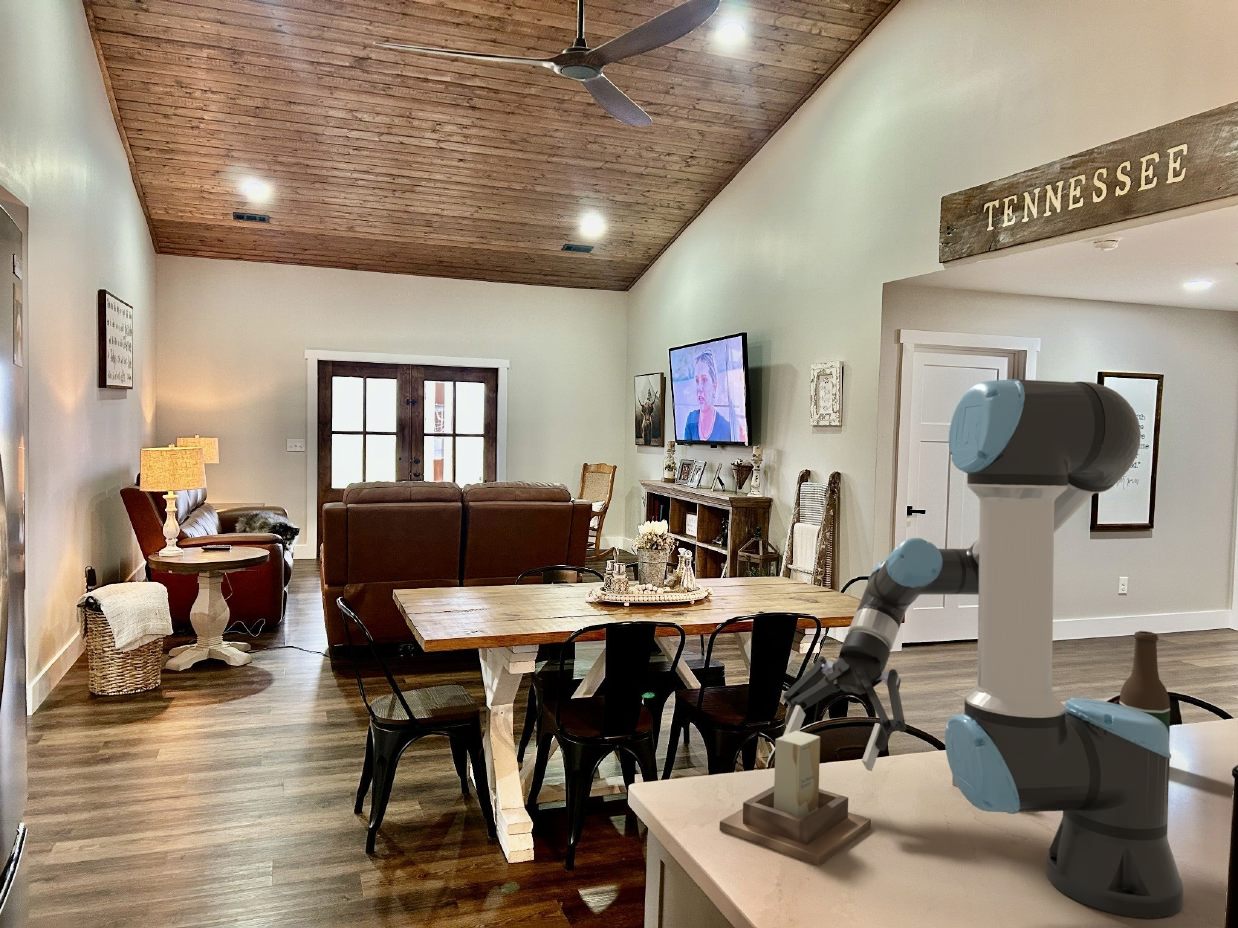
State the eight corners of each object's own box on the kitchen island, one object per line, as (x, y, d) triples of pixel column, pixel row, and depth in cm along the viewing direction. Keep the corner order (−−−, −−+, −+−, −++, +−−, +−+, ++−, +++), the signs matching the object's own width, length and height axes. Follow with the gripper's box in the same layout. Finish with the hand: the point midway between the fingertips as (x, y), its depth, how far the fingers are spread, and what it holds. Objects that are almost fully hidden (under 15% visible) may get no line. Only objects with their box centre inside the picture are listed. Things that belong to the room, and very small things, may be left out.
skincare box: (798, 831, 122) (800, 745, 122) (772, 822, 125) (773, 738, 125) (820, 817, 127) (821, 735, 127) (794, 808, 130) (795, 728, 130)
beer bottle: (1168, 762, 156) (1171, 631, 155) (1169, 776, 149) (1172, 638, 149) (1118, 754, 160) (1121, 626, 160) (1117, 766, 153) (1120, 633, 153)
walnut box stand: (870, 827, 127) (871, 798, 126) (818, 865, 114) (819, 833, 114) (776, 797, 137) (776, 771, 137) (719, 829, 125) (720, 800, 125)
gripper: (949, 668, 138) (910, 788, 126) (808, 644, 154) (763, 748, 143) (937, 641, 133) (896, 762, 122) (794, 618, 150) (747, 724, 139)
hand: (825, 755), depth 132 cm, fingers open, 13 cm apart
